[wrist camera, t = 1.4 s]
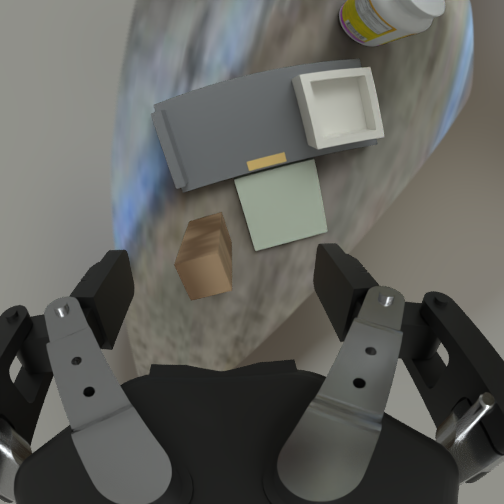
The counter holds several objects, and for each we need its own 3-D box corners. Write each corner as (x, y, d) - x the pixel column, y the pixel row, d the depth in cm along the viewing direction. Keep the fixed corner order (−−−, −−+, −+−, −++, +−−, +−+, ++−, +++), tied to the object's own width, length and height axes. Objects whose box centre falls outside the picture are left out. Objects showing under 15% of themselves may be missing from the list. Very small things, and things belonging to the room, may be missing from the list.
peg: (221, 212, 32) (218, 252, 23) (231, 241, 34) (232, 290, 25) (189, 221, 33) (174, 264, 24) (200, 250, 34) (191, 300, 26)
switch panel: (352, 61, 25) (367, 56, 21) (369, 142, 29) (386, 146, 26) (158, 105, 26) (147, 104, 22) (185, 187, 31) (179, 198, 27)
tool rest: (311, 157, 30) (314, 159, 29) (325, 228, 34) (327, 231, 33) (233, 177, 30) (234, 179, 30) (254, 247, 35) (255, 251, 34)
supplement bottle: (385, 9, 21) (449, -19, 9) (388, 53, 24) (458, 38, 12) (335, -5, 20) (385, -49, 9) (337, 40, 23) (394, 9, 12)
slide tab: (355, 70, 23) (370, 67, 20) (369, 133, 27) (384, 136, 24) (291, 79, 24) (299, 74, 21) (308, 145, 27) (317, 149, 24)
